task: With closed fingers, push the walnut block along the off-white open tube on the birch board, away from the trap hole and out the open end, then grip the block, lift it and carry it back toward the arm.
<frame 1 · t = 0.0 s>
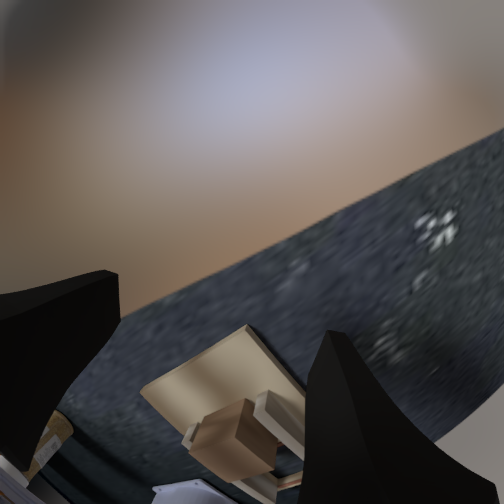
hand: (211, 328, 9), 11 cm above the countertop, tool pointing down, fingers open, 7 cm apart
sprinkles bottle: (62, 420, 27), on the countertop
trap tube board: (256, 430, 22), on the countertop
walnut block: (241, 424, 21), point 1 cm above the countertop, touching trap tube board
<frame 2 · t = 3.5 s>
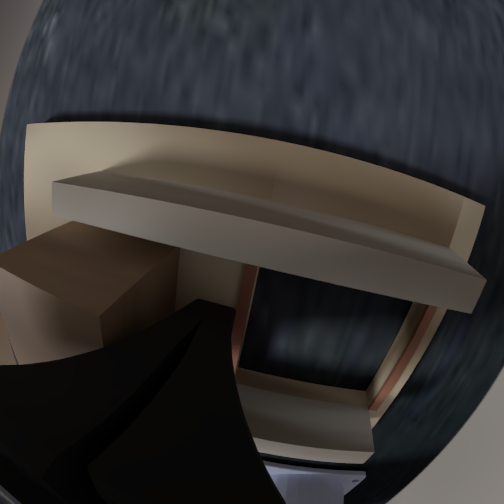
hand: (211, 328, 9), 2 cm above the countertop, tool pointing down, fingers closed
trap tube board: (200, 293, 11), on the countertop
walnut block: (123, 285, 10), point 1 cm above the countertop, touching gripper
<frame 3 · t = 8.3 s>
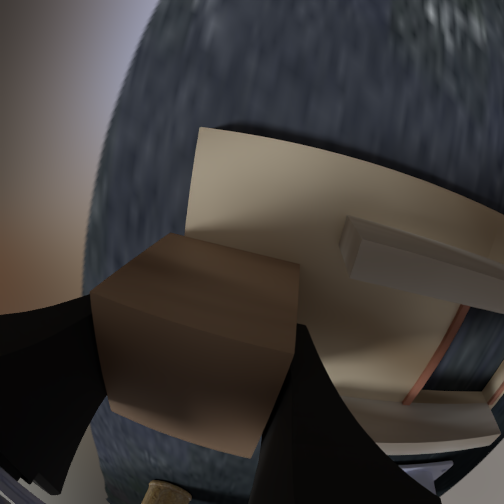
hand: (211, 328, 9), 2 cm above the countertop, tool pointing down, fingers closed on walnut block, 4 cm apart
sprinkles bottle: (172, 487, 21), on the countertop
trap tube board: (399, 331, 11), on the countertop
walnut block: (222, 305, 10), point 1 cm above the countertop, touching gripper, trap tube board
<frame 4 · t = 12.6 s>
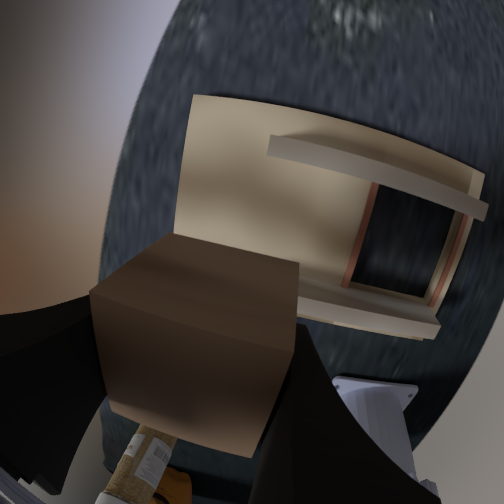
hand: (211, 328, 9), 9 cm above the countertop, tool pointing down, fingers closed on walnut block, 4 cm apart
sprinkles bottle: (164, 421, 27), on the countertop
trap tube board: (328, 223, 17), on the countertop
coffee package: (169, 476, 34), on the countertop
walnut block: (222, 304, 10), point 8 cm above the countertop, touching gripper
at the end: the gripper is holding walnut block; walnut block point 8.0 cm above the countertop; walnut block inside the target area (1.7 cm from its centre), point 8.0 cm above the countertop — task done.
